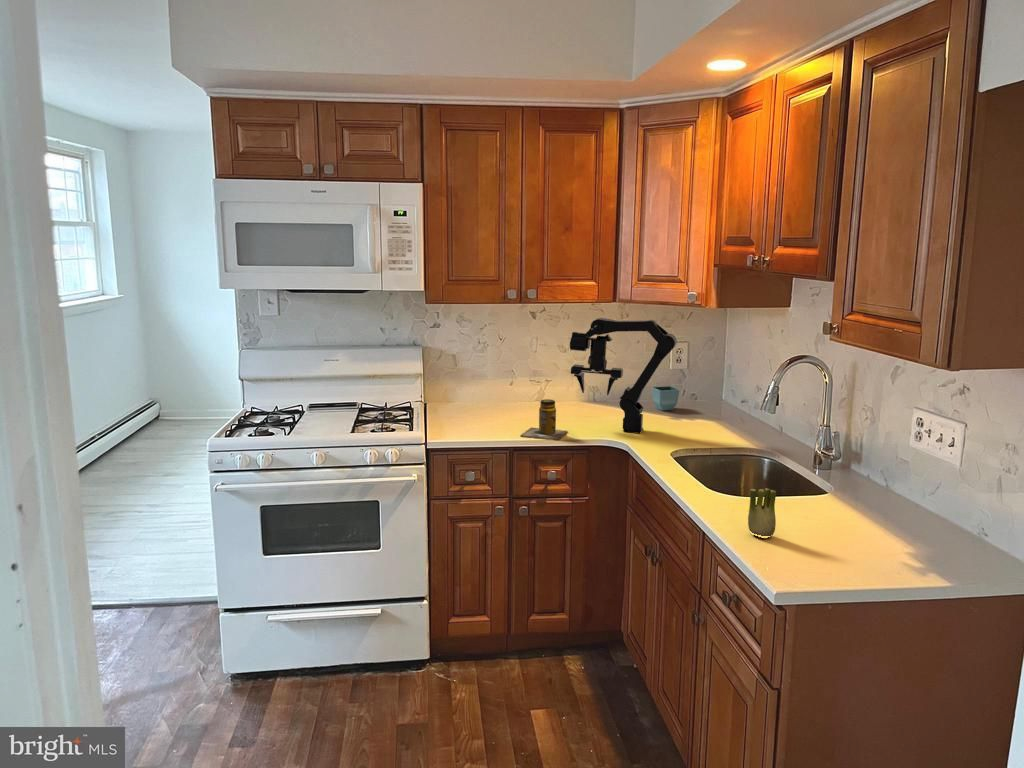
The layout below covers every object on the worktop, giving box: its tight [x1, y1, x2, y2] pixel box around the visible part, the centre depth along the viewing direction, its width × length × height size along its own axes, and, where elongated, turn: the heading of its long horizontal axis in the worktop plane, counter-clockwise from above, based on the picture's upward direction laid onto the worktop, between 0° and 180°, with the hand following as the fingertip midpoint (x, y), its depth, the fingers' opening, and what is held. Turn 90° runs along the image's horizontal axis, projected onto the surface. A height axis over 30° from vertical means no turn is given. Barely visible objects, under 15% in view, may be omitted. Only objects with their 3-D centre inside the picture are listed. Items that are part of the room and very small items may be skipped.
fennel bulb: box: [747, 487, 777, 537], centre depth 185 cm, size 6×5×12 cm
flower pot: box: [651, 385, 680, 411], centre depth 322 cm, size 9×9×9 cm
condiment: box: [531, 398, 560, 436], centre depth 279 cm, size 7×8×12 cm
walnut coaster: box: [519, 427, 568, 441], centre depth 281 cm, size 14×12×1 cm
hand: (595, 393), depth 289 cm, fingers open, 9 cm apart
